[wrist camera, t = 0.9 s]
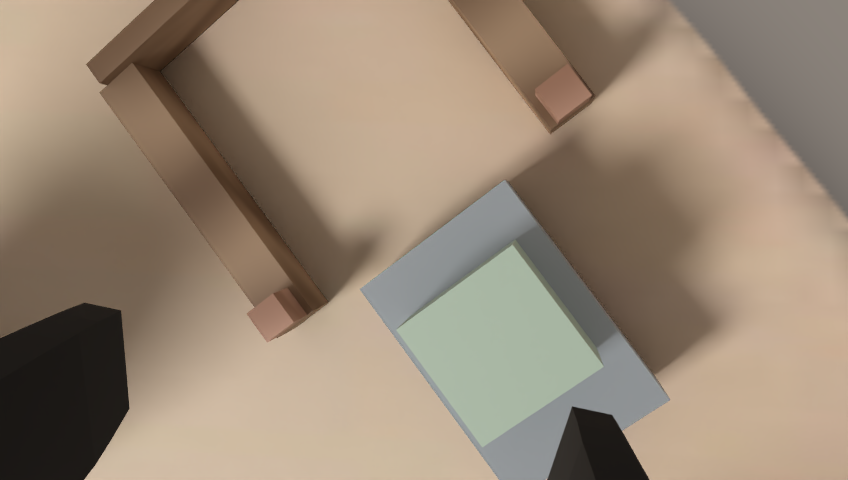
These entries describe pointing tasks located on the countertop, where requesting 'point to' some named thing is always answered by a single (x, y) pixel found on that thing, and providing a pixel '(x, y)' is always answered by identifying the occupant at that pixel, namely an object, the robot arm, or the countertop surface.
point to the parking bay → (218, 185)
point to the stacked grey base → (510, 335)
